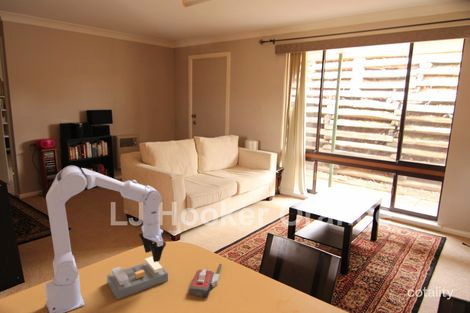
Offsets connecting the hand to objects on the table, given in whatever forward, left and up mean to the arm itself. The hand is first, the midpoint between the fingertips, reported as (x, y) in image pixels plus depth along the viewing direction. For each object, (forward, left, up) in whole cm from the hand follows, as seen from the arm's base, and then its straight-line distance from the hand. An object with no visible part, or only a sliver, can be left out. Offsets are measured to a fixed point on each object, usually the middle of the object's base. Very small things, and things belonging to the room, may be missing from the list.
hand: (152, 256), depth 111 cm
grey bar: (-12, 0, -4) cm, 12 cm away
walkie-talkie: (+15, -13, -9) cm, 22 cm away
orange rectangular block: (-6, -1, -5) cm, 8 cm away
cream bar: (0, +1, -4) cm, 4 cm away
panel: (-6, +1, -9) cm, 10 cm away
